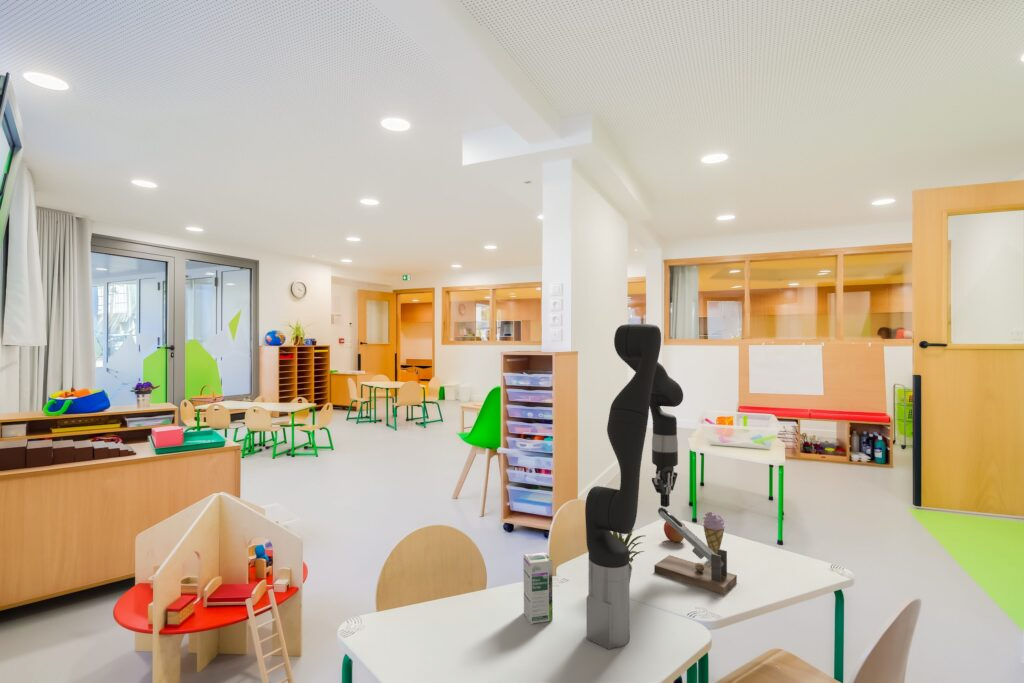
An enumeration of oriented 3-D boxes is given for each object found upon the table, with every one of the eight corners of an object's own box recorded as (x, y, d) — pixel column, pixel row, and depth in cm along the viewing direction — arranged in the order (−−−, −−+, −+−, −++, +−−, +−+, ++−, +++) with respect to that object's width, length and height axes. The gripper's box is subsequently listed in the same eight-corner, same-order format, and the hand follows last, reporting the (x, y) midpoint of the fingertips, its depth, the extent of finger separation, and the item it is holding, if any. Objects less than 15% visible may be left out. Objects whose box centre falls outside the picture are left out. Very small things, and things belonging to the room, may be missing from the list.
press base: (723, 594, 129) (723, 560, 130) (654, 571, 143) (654, 541, 143) (736, 582, 137) (736, 550, 137) (669, 561, 150) (669, 532, 151)
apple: (690, 544, 164) (690, 521, 164) (670, 546, 162) (670, 522, 163) (678, 536, 171) (678, 514, 171) (659, 538, 170) (659, 515, 170)
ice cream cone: (697, 556, 155) (697, 508, 155) (712, 552, 157) (711, 506, 158) (714, 564, 149) (714, 515, 149) (729, 560, 151) (728, 512, 152)
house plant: (661, 595, 129) (661, 533, 129) (620, 607, 123) (620, 542, 123) (625, 573, 142) (625, 517, 142) (587, 583, 135) (587, 524, 136)
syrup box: (530, 625, 114) (530, 562, 115) (522, 612, 120) (523, 553, 120) (552, 621, 116) (553, 560, 116) (544, 609, 121) (544, 550, 122)
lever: (715, 573, 134) (722, 564, 133) (653, 515, 148) (658, 506, 146) (719, 569, 136) (726, 561, 135) (657, 512, 150) (663, 504, 149)
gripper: (666, 453, 140) (666, 514, 139) (685, 447, 149) (686, 504, 149) (642, 450, 145) (643, 508, 144) (663, 444, 154) (663, 499, 154)
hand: (665, 506), depth 147 cm, fingers closed
